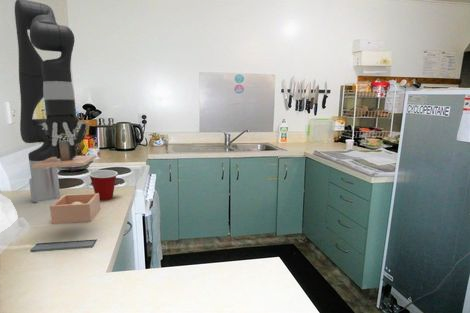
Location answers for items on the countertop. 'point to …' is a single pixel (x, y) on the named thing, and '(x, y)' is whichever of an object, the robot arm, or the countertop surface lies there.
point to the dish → (75, 208)
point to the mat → (63, 245)
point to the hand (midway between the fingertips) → (66, 157)
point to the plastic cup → (103, 183)
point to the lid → (64, 158)
